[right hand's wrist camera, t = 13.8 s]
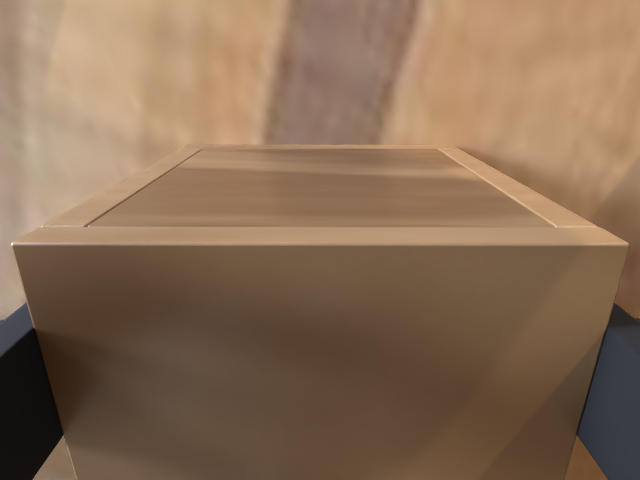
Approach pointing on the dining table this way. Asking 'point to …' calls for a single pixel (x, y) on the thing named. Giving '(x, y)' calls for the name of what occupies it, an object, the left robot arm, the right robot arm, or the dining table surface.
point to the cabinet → (320, 318)
